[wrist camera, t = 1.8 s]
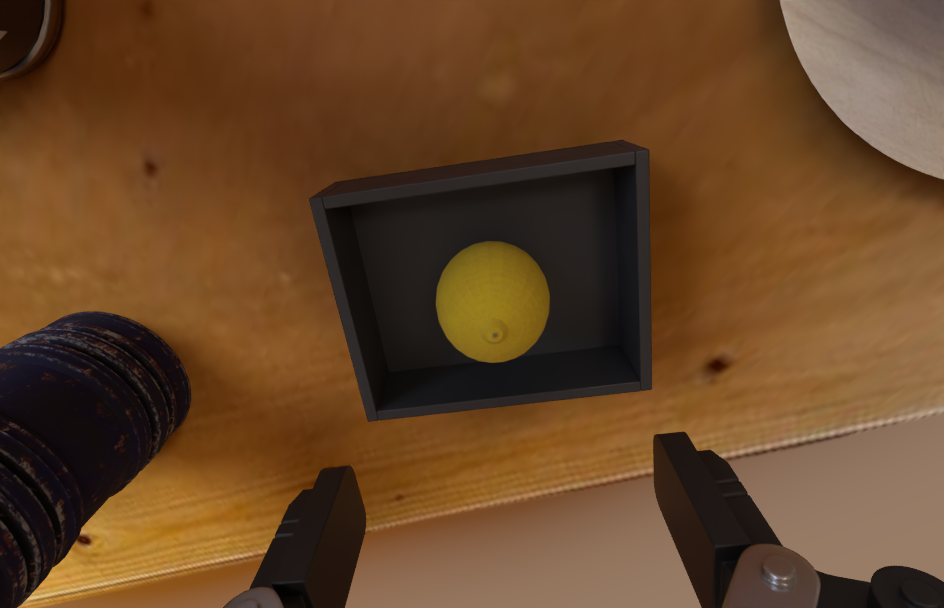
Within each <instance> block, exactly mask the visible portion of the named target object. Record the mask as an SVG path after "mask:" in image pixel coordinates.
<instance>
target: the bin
mask: <svg viewBox="0 0 944 608" xmlns="http://www.w3.org/2000/svg"><path fill="white" fill-rule="evenodd" d="M309 201H310V205H311V209H312V212H313V216H314V220H315V224H316V228H317V231H318V235H319V239H320V243H321V246H322V250H323V254H324V258H325V261H326V265H327V269H328V273H329V276H330V280H331V284H332V288H333V291H334V295H335V299H336V303H337V307H338V310H339V314H340V318H341V322H342V325H343V329H344V333H345V337H346V340H347V344H348V348H349V352H350V355H351V359H352V363H353V367H354V371H355V374H356V378H357V382H358V386H359V389H360V393H361V397H362V401H363V404H364V408H365V412H366V416H367V419H368V421H378V420H388V419H396V418H405V417H414V416H423V415H432V414H441V413H450V412H459V411H468V410H476V409H485V408H494V407H503V406H512V405H521V404H530V403H539V402H548V401H557V400H565V399H574V398H583V397H592V396H601V395H610V394H619V393H628V392H637V391H640V390H641V391H644V390H651V389H652V341H651V264H650V188H649V149H646V148H643V147H640V146H638V145H635V144H632V143H629V142H626V141H624V140H618V141H612V142H605V143H598V144H591V145H584V146H578V147H571V148H564V149H557V150H550V151H544V152H537V153H530V154H523V155H516V156H510V157H503V158H496V159H489V160H483V161H476V162H469V163H462V164H455V165H449V166H442V167H435V168H428V169H421V170H415V171H408V172H401V173H394V174H387V175H381V176H374V177H367V178H360V179H353V180H347V181H340V182H335V183H333V184H332V185H330V186H329V187H327V188H325V189H324V190H322V191H321V192H319V193H317V194H316V195H314V196H313V197H311V198H309ZM485 241H501V242H505V243H508V244H512V245H515V246H516V247H518V248H520V249H522V250H523V251H525V252H526V253H528V254H529V255H530V256H531V257H532V258H533V259H534V260H535V262H536V263H537V264H538V265H539V267H540V269H541V271H542V272H543V274H544V276H545V278H546V282H547V285H548V289H549V294H550V304H549V315H548V318H547V321H546V325H545V328H544V330H543V332H542V334H541V335H540V337H539V339H538V340H537V342H536V343H535V344H534V345H533V346H532V347H531V348H530V349H529V350H528V351H526V352H525V353H524V354H522V355H520V356H518V357H517V358H515V359H511V360H508V361H505V362H496V363H489V362H482V361H478V360H475V359H473V358H470V357H467V356H466V355H465V354H463V353H462V352H460V351H459V350H457V349H456V348H455V347H454V345H453V344H452V343H451V342H450V341H449V340H448V338H447V337H446V335H445V333H444V331H443V329H442V327H441V325H440V323H439V319H438V314H437V309H436V294H437V286H438V283H439V280H440V278H441V275H442V272H443V270H444V269H445V268H446V266H447V265H448V263H449V262H450V260H451V259H452V258H453V257H455V256H456V255H457V254H458V253H459V252H460V251H462V250H463V249H465V248H467V247H469V246H471V245H473V244H476V243H481V242H485Z"/></svg>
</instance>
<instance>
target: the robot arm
mask: <svg viewBox="0 0 944 608" xmlns="http://www.w3.org/2000/svg"><path fill="white" fill-rule="evenodd" d="M61 15H62V0H0V81H3V80H9V79H13V78H17V77H19V76H22V75H24V74H26V73H28V72H30V71H31V70H33V69H34V68H35V67H37V66H38V65H39V64H40V63H41V62H42V61H43V60H44V59H45V57H46V56H47V55H48V53H49V52H50V50H51V48H52V47H53V45H54V42H55V40H56V38H57V35H58V31H59V28H60V22H61ZM653 454H654V487H655V493H656V498H657V501H658V504H659V507H660V510H661V512H662V514H663V517H664V519H665V521H666V524H667V526H668V529H669V531H670V533H671V535H672V538H673V540H674V543H675V545H676V548H677V550H678V552H679V555H680V557H681V559H682V561H683V564H684V567H685V569H686V571H687V573H688V576H689V578H690V581H691V583H692V586H693V588H694V590H695V592H696V595H697V597H698V599H699V602H700V605H701V607H702V608H944V582H943V581H941V580H939V579H938V578H936V577H934V576H932V575H930V574H928V573H925V572H922V571H920V570H917V569H913V568H910V567H904V566H887V567H883V568H881V569H879V570H877V571H876V572H875V573H874V574H873V576H872V578H871V583H869V582H865V581H859V580H854V579H848V578H843V577H837V576H832V575H828V574H824V573H822V572H819V571H816V570H815V569H814V567H813V566H812V565H811V564H810V563H809V562H808V561H807V560H806V559H805V558H803V557H802V556H800V555H799V554H798V553H796V552H794V551H792V550H790V549H788V548H785V547H783V545H782V544H781V543H780V541H779V540H778V538H777V537H776V535H775V533H774V532H773V531H772V529H771V527H770V526H769V525H768V523H767V521H766V520H765V518H764V517H763V515H762V514H761V512H760V511H759V509H758V508H757V506H756V505H755V503H754V502H753V500H752V498H751V497H750V496H749V495H748V494H747V491H746V489H745V488H744V486H743V485H742V483H741V482H739V479H738V477H737V476H736V474H735V473H734V472H733V470H732V468H731V467H730V465H729V464H728V462H726V461H725V460H724V459H722V458H721V457H719V456H718V455H717V454H715V453H714V452H713V451H711V450H704V451H697V450H696V448H695V447H694V445H693V443H692V442H691V440H690V438H689V437H688V435H687V434H686V433H685V432H676V433H666V434H657V435H654V439H653ZM365 529H366V513H365V508H364V504H363V501H362V497H361V494H360V490H359V487H358V483H357V480H356V476H355V473H354V470H353V468H352V467H351V466H350V465H349V466H339V467H329V468H323V469H322V470H321V471H320V473H319V475H318V477H317V480H316V482H315V484H314V487H313V489H307V490H303V491H302V492H301V493H300V494H299V495H298V496H297V497H296V498H295V499H294V500H293V501H292V502H291V504H290V505H289V506H288V508H287V511H286V513H285V515H284V517H283V519H282V521H281V525H279V527H278V530H277V532H276V534H275V539H273V540H272V542H271V544H270V546H269V549H268V551H267V553H266V555H265V557H264V559H263V561H262V563H261V566H260V568H259V570H258V572H257V574H256V576H255V578H254V580H253V582H252V584H251V587H250V589H249V590H247V591H244V592H243V593H241V594H239V595H237V596H236V597H234V598H233V599H232V600H231V601H229V602H228V603H227V604H226V605H225V606H224V607H223V608H345V605H346V601H347V597H348V594H349V590H350V586H351V582H352V579H353V575H354V572H355V568H356V564H357V560H358V557H359V553H360V549H361V546H362V542H363V538H364V535H365Z"/></svg>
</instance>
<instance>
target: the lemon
mask: <svg viewBox="0 0 944 608" xmlns="http://www.w3.org/2000/svg"><path fill="white" fill-rule="evenodd" d="M549 304H550V294H549V289H548V285H547V282H546V278H545V276H544V274H543V272H542V271H541V269H540V267H539V265H538V264H537V263H536V262H535V260H534V259H533V258H532V257H531V256H530V255H529V254H528V253H526V252H525V251H523V250H522V249H520V248H518V247H516V246H515V245H512V244H508V243H505V242H501V241H485V242H481V243H476V244H473V245H471V246H469V247H467V248H465V249H463V250H462V251H460V252H459V253H458V254H457V255H456V256H455V257H453V258H452V259H451V260H450V262H449V263H448V265H447V266H446V268H445V269H444V270H443V272H442V275H441V278H440V280H439V283H438V286H437V294H436V309H437V314H438V319H439V323H440V325H441V327H442V329H443V331H444V333H445V335H446V337H447V338H448V340H449V341H450V342H451V343H452V344H453V345H454V347H455V348H456V349H457V350H459V351H460V352H462V353H463V354H465V355H466V356H467V357H470V358H473V359H475V360H478V361H482V362H489V363H496V362H505V361H508V360H511V359H515V358H517V357H518V356H520V355H522V354H524V353H525V352H526V351H528V350H529V349H530V348H531V347H532V346H533V345H534V344H535V343H536V342H537V340H538V339H539V337H540V335H541V334H542V332H543V330H544V328H545V325H546V321H547V318H548V315H549Z"/></svg>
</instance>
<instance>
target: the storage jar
mask: <svg viewBox="0 0 944 608" xmlns="http://www.w3.org/2000/svg"><path fill="white" fill-rule="evenodd" d="M190 401H191V389H190V384H189V380H188V376H187V374H186V372H185V369H184V367H183V365H182V364H181V362H180V360H179V358H178V357H177V356H176V354H175V353H174V352H173V351H172V349H171V348H170V347H169V346H168V345H167V344H166V343H165V342H164V341H163V340H162V339H161V338H160V337H158V336H157V335H156V334H154V333H153V332H152V331H150V330H149V329H147V328H145V327H144V326H142V325H140V324H139V323H136V322H134V321H132V320H130V319H127V318H125V317H121V316H118V315H115V314H110V313H104V312H80V313H74V314H71V315H67V316H64V317H62V318H60V319H59V320H57V321H55V322H53V323H51V324H49V325H48V326H46V327H45V328H42V329H40V330H38V331H35V332H32V333H29V334H26V335H24V336H22V337H21V338H19V339H17V340H15V341H13V342H11V343H9V344H7V345H6V346H4V347H2V348H0V608H17V607H19V606H20V605H21V604H22V603H23V602H24V601H25V600H26V599H27V598H28V597H29V596H30V595H31V594H32V593H33V592H34V591H35V590H36V588H37V587H38V586H39V585H40V584H41V583H42V581H43V580H44V579H45V578H46V577H47V576H48V574H49V572H50V571H51V569H52V568H53V567H54V566H56V565H57V564H59V563H60V562H61V561H62V560H63V559H64V558H65V556H66V555H67V554H68V552H69V550H70V549H71V547H72V545H73V544H74V543H75V541H76V539H77V538H78V536H79V534H80V531H81V528H82V527H83V526H84V524H85V523H86V522H87V521H88V520H89V519H90V518H91V517H92V516H93V515H94V514H95V512H96V511H97V510H98V509H99V508H100V507H101V506H102V505H103V504H104V503H105V502H106V500H107V499H108V498H109V497H111V496H113V495H115V494H116V493H118V492H119V491H121V490H122V489H123V488H124V487H125V486H126V485H127V484H128V483H130V482H131V481H132V480H133V479H134V478H135V477H136V476H137V474H138V473H139V472H140V471H141V470H142V469H143V468H144V467H145V466H146V465H147V464H148V463H149V462H150V461H151V460H152V459H153V458H154V457H155V456H156V454H157V453H158V452H159V451H160V450H161V448H162V446H163V445H164V443H165V442H166V441H167V439H168V438H169V436H171V435H172V433H173V432H174V431H175V430H176V429H177V428H178V427H179V426H180V425H181V424H182V422H183V421H184V419H185V418H186V416H187V413H188V410H189V407H190Z"/></svg>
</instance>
